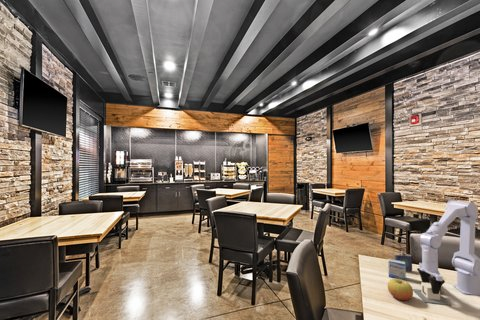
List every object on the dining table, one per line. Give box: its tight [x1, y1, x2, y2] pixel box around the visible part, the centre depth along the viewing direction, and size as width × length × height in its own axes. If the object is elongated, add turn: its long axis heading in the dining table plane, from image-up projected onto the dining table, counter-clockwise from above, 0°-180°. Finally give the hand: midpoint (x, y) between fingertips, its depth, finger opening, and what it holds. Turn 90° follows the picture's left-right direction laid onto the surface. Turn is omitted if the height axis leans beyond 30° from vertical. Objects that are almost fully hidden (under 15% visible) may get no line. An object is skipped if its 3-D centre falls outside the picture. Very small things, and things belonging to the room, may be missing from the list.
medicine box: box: [387, 258, 407, 281], centre depth 128 cm, size 8×4×9 cm, turn 58°
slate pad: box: [412, 288, 452, 306], centre depth 108 cm, size 10×11×1 cm
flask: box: [393, 250, 413, 273], centre depth 136 cm, size 9×3×11 cm, turn 76°
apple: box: [387, 278, 414, 301], centre depth 108 cm, size 10×10×8 cm
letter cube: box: [420, 281, 441, 300], centre depth 108 cm, size 5×5×5 cm
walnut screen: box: [429, 275, 445, 296], centre depth 117 cm, size 3×13×6 cm, turn 168°
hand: (430, 289), depth 108 cm, fingers open, 7 cm apart
